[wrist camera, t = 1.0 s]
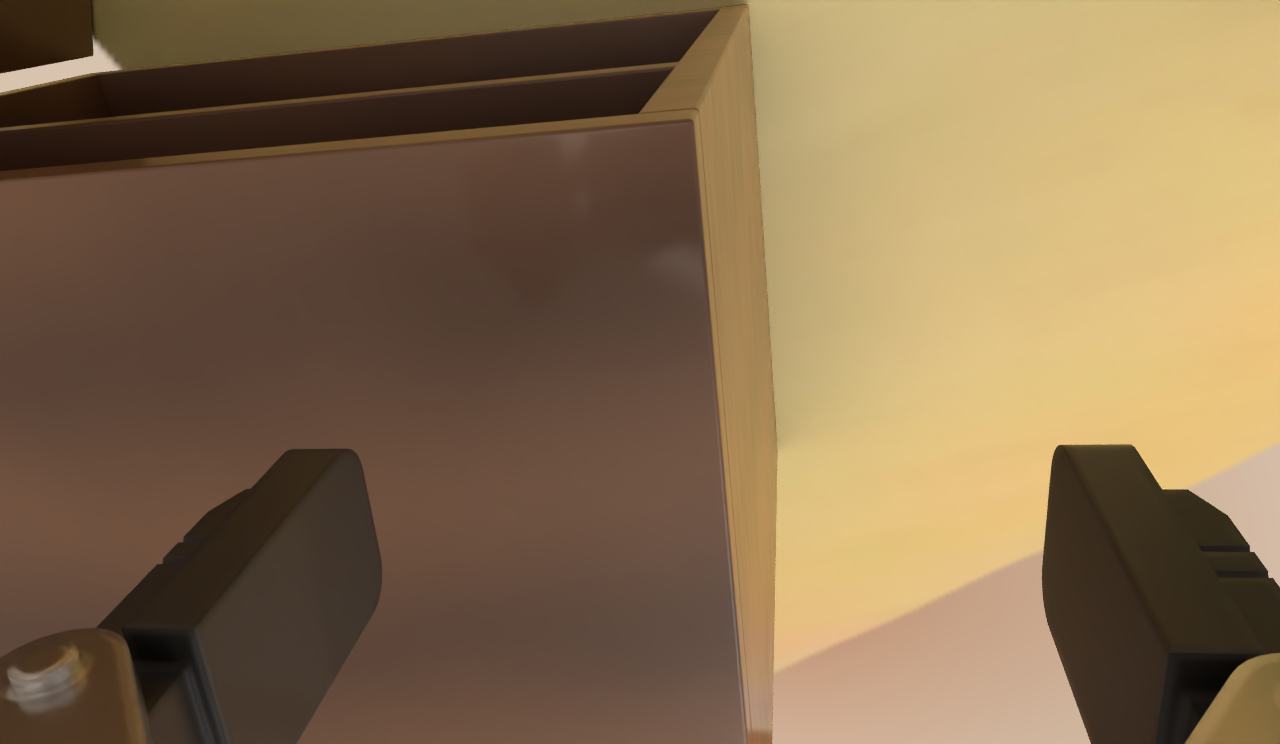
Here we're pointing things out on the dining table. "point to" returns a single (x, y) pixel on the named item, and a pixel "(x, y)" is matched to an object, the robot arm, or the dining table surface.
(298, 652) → the robot arm
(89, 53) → the door
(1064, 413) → the dining table surface
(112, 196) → the cupboard
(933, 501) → the dining table surface
